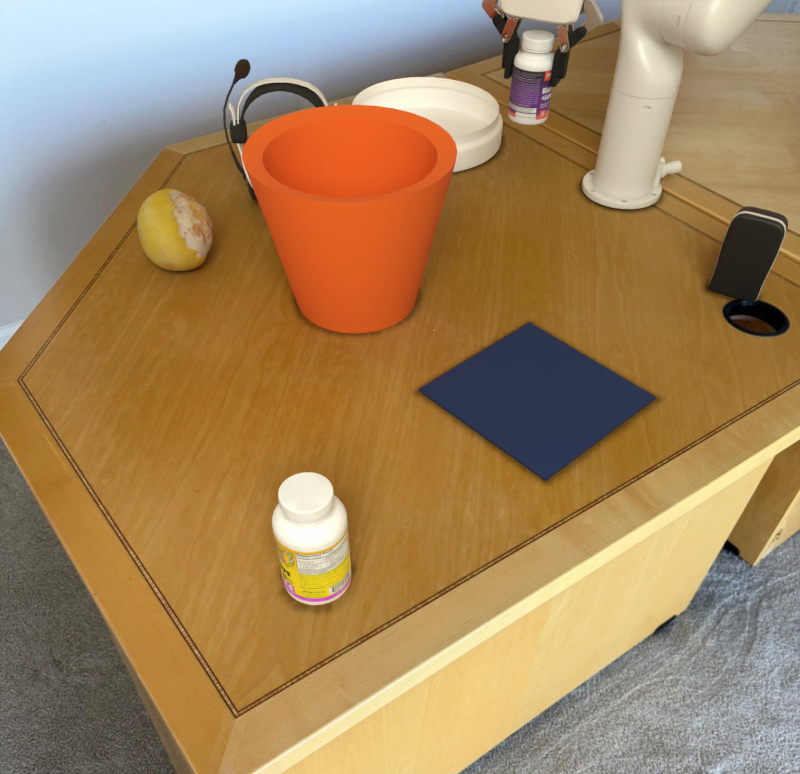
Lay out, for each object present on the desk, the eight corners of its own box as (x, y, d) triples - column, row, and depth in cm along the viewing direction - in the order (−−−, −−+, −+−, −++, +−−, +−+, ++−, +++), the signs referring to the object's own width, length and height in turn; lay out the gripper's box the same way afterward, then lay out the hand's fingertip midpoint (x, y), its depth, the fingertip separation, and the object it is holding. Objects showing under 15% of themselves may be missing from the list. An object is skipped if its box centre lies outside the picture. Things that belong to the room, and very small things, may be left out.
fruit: (159, 292, 104) (141, 223, 97) (138, 254, 110) (119, 186, 103) (230, 274, 107) (218, 205, 100) (206, 238, 113) (192, 170, 106)
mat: (529, 324, 100) (529, 322, 100) (655, 399, 91) (655, 396, 91) (418, 391, 92) (418, 388, 91) (545, 481, 82) (546, 478, 82)
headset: (232, 212, 118) (208, 70, 103) (238, 187, 123) (216, 48, 108) (343, 211, 118) (335, 70, 103) (344, 187, 123) (337, 48, 108)
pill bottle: (545, 128, 100) (558, 44, 92) (504, 124, 100) (514, 40, 93) (549, 111, 103) (562, 29, 96) (509, 107, 104) (519, 25, 96)
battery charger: (762, 291, 105) (796, 212, 97) (755, 305, 103) (789, 226, 94) (712, 277, 108) (740, 198, 99) (704, 290, 105) (733, 211, 97)
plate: (532, 149, 132) (536, 115, 128) (404, 190, 123) (405, 156, 118) (440, 95, 146) (442, 64, 142) (319, 129, 137) (317, 96, 133)
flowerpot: (484, 315, 101) (500, 166, 86) (319, 379, 93) (304, 225, 78) (386, 231, 115) (385, 89, 99) (234, 280, 106) (207, 133, 91)
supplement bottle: (283, 555, 76) (267, 464, 66) (350, 550, 76) (343, 460, 66) (283, 611, 72) (264, 523, 62) (353, 606, 72) (346, 518, 62)
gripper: (641, -99, 84) (604, 80, 98) (494, -116, 88) (479, 58, 102) (625, -84, 80) (589, 102, 94) (472, -102, 84) (459, 78, 98)
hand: (532, 77), depth 98 cm, fingers closed on pill bottle, 5 cm apart
